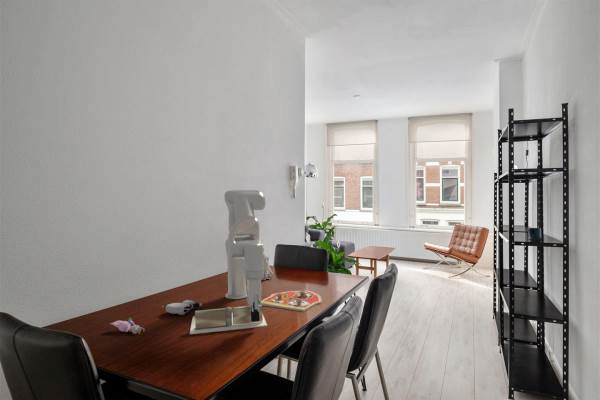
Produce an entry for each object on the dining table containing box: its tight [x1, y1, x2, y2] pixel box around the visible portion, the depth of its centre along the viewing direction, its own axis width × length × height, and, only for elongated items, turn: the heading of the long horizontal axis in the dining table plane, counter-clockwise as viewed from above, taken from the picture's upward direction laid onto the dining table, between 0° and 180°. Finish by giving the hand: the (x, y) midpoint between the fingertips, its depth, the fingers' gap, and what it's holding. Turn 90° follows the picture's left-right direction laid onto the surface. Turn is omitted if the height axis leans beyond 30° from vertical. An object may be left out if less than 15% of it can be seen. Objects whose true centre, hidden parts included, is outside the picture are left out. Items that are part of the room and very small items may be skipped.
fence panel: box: [232, 305, 263, 325], centre depth 145 cm, size 12×1×7 cm, turn 103°
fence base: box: [194, 306, 233, 329], centre depth 142 cm, size 2×14×8 cm, turn 103°
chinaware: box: [261, 253, 274, 281], centre depth 226 cm, size 28×17×17 cm, turn 18°
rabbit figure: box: [110, 317, 146, 335], centre depth 140 cm, size 6×6×15 cm
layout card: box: [189, 312, 268, 335], centre depth 149 cm, size 20×30×1 cm, turn 103°
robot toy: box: [161, 299, 203, 316], centre depth 164 cm, size 12×4×15 cm
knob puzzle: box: [260, 289, 323, 313], centre depth 178 cm, size 29×30×4 cm
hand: (255, 320), depth 139 cm, fingers closed
